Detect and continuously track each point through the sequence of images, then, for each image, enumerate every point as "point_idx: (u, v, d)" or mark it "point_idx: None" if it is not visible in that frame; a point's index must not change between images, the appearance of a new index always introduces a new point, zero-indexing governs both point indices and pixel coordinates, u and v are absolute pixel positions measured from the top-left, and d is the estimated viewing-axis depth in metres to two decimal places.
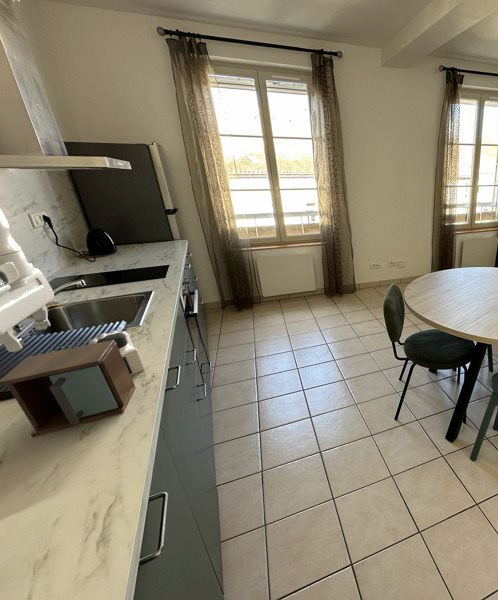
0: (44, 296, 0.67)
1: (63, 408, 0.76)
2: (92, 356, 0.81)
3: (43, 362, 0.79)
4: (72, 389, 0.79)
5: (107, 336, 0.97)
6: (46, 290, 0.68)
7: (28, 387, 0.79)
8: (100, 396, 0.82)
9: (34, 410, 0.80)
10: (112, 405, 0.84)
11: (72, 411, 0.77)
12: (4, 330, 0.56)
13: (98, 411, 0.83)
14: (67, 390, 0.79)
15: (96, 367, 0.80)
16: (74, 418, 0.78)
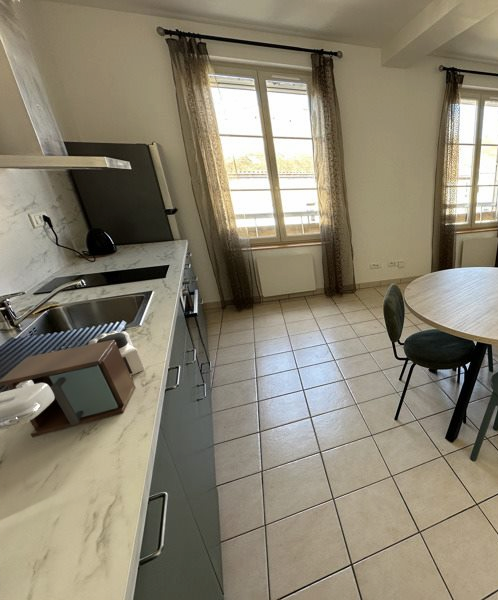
0: None
1: (63, 408, 0.76)
2: (92, 356, 0.81)
3: (43, 362, 0.79)
4: (72, 389, 0.79)
5: (107, 336, 0.97)
6: None
7: None
8: (100, 396, 0.82)
9: None
10: (112, 405, 0.84)
11: (72, 411, 0.77)
12: None
13: (98, 411, 0.83)
14: (67, 390, 0.79)
15: (96, 367, 0.80)
16: (74, 418, 0.78)
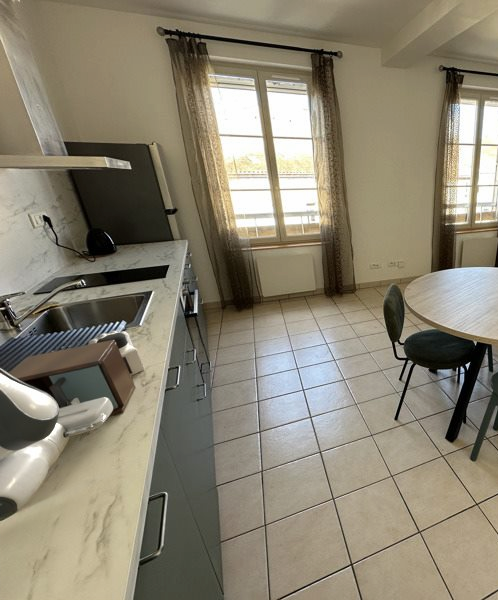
0: None
1: None
2: (92, 356, 0.81)
3: (43, 362, 0.79)
4: (72, 389, 0.79)
5: (107, 336, 0.97)
6: None
7: None
8: (100, 396, 0.82)
9: None
10: None
11: None
12: None
13: None
14: (67, 390, 0.79)
15: (96, 367, 0.80)
16: None
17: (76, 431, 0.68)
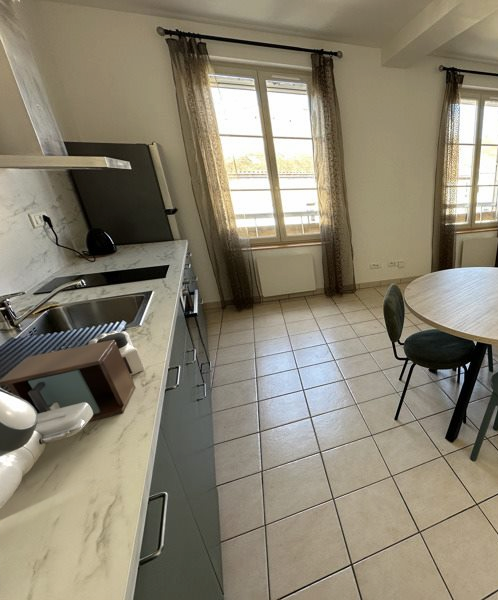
0: None
1: None
2: (92, 356, 0.81)
3: (43, 362, 0.79)
4: (52, 394, 0.78)
5: (107, 336, 0.97)
6: None
7: (28, 387, 0.79)
8: (81, 401, 0.81)
9: None
10: (94, 410, 0.83)
11: None
12: None
13: None
14: (47, 395, 0.77)
15: (77, 371, 0.78)
16: None
17: (52, 438, 0.67)
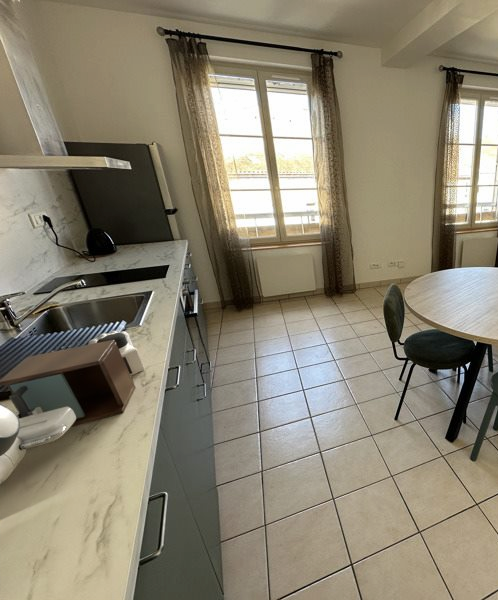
0: None
1: None
2: (92, 356, 0.81)
3: (43, 362, 0.79)
4: (35, 398, 0.77)
5: (107, 336, 0.97)
6: None
7: None
8: (65, 405, 0.80)
9: None
10: (78, 414, 0.81)
11: None
12: None
13: None
14: (29, 399, 0.76)
15: (60, 375, 0.77)
16: None
17: (33, 443, 0.66)
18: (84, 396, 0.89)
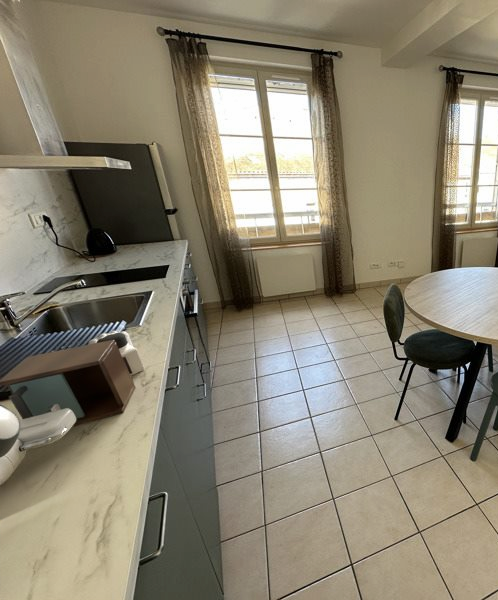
0: None
1: (24, 418, 0.73)
2: (92, 356, 0.81)
3: (43, 362, 0.79)
4: (35, 398, 0.77)
5: (107, 336, 0.97)
6: None
7: None
8: (65, 405, 0.80)
9: None
10: (78, 414, 0.81)
11: None
12: None
13: None
14: (29, 399, 0.76)
15: (60, 375, 0.77)
16: None
17: (33, 445, 0.66)
18: (84, 396, 0.89)
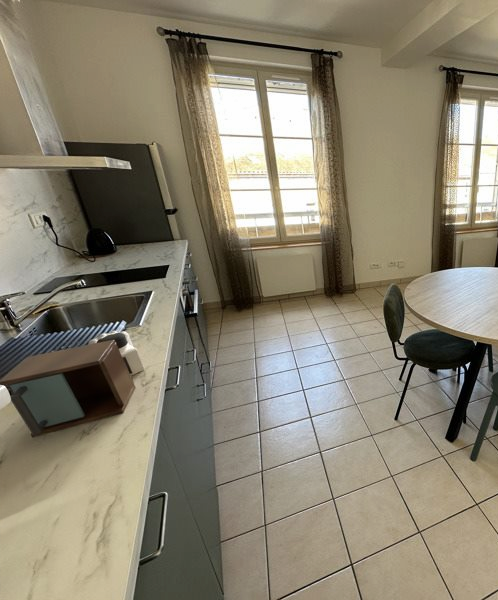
0: None
1: (24, 418, 0.73)
2: (92, 356, 0.81)
3: (43, 362, 0.79)
4: (35, 398, 0.77)
5: (107, 336, 0.97)
6: None
7: None
8: (65, 405, 0.80)
9: None
10: (78, 414, 0.81)
11: (33, 421, 0.75)
12: None
13: (63, 420, 0.81)
14: (29, 399, 0.76)
15: (60, 375, 0.77)
16: (36, 428, 0.75)
17: None
18: (84, 396, 0.89)
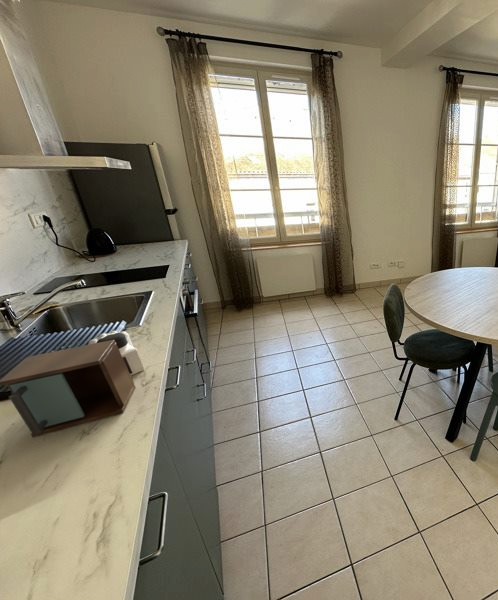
0: None
1: (24, 418, 0.73)
2: (92, 356, 0.81)
3: (43, 362, 0.79)
4: (35, 398, 0.77)
5: (107, 336, 0.97)
6: None
7: None
8: (65, 405, 0.80)
9: None
10: (78, 414, 0.81)
11: (33, 421, 0.75)
12: None
13: (63, 420, 0.81)
14: (29, 399, 0.76)
15: (60, 375, 0.77)
16: (36, 428, 0.75)
17: None
18: (84, 396, 0.89)
